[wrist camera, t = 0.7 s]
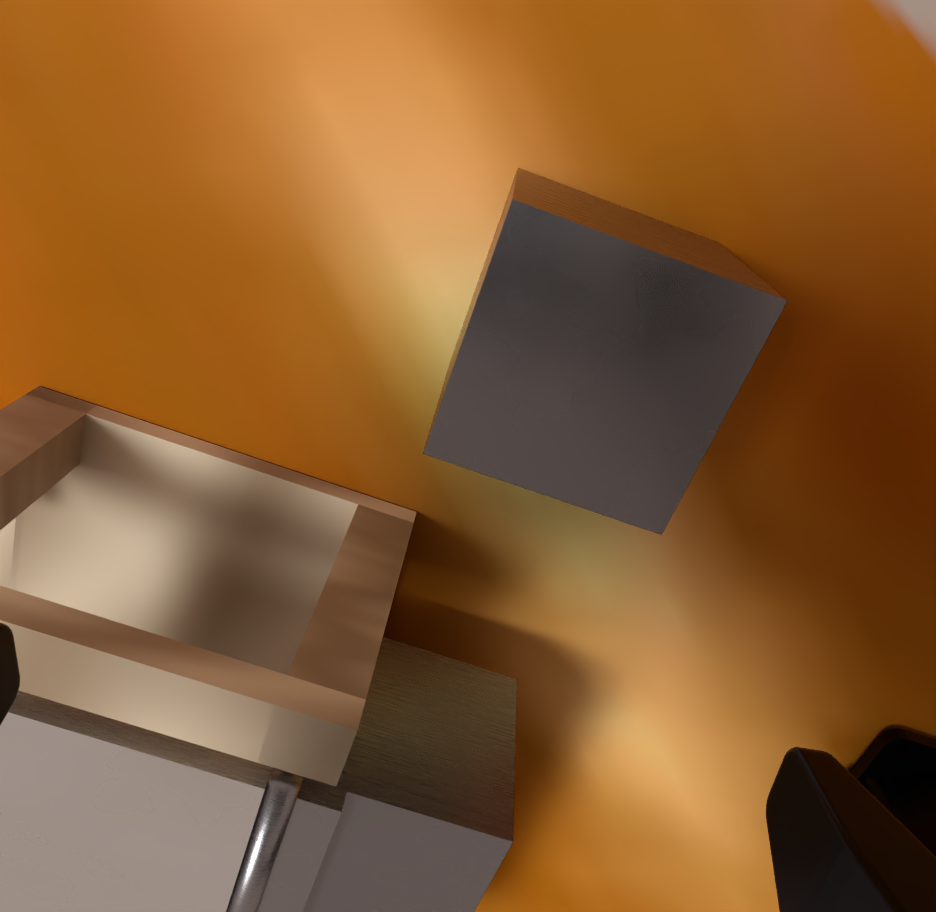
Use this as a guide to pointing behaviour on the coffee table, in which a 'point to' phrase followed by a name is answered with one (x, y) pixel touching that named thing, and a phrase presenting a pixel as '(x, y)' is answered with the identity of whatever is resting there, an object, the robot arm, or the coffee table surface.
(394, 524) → the frame
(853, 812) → the robot arm
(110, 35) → the coffee table surface
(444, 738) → the trapdoor
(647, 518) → the block
